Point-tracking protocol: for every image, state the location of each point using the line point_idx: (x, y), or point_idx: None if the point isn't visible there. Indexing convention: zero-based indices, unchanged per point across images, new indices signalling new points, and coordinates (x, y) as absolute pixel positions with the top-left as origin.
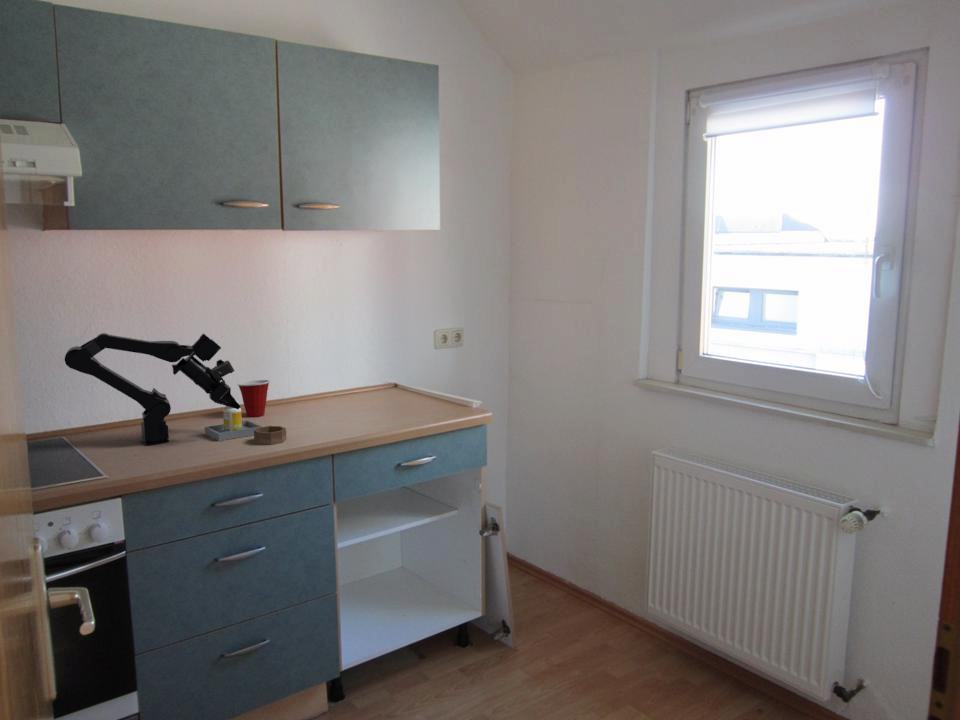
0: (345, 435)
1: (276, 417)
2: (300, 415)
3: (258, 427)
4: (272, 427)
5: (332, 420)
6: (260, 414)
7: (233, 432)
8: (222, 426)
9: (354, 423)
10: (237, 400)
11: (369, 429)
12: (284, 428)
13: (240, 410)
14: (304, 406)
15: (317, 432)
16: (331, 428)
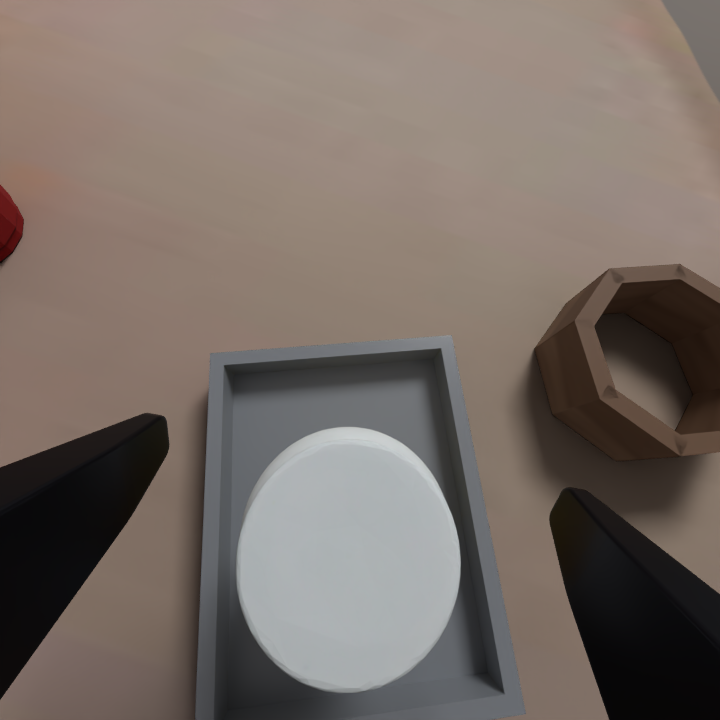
0: (640, 97)
1: (117, 173)
2: (170, 85)
3: (455, 363)
4: (598, 313)
5: (359, 38)
6: (16, 216)
7: (492, 560)
8: (222, 567)
9: (459, 10)
10: (333, 446)
11: (579, 13)
12: (680, 271)
13: (410, 450)
14: (8, 14)
15: (541, 150)
16: (497, 89)
